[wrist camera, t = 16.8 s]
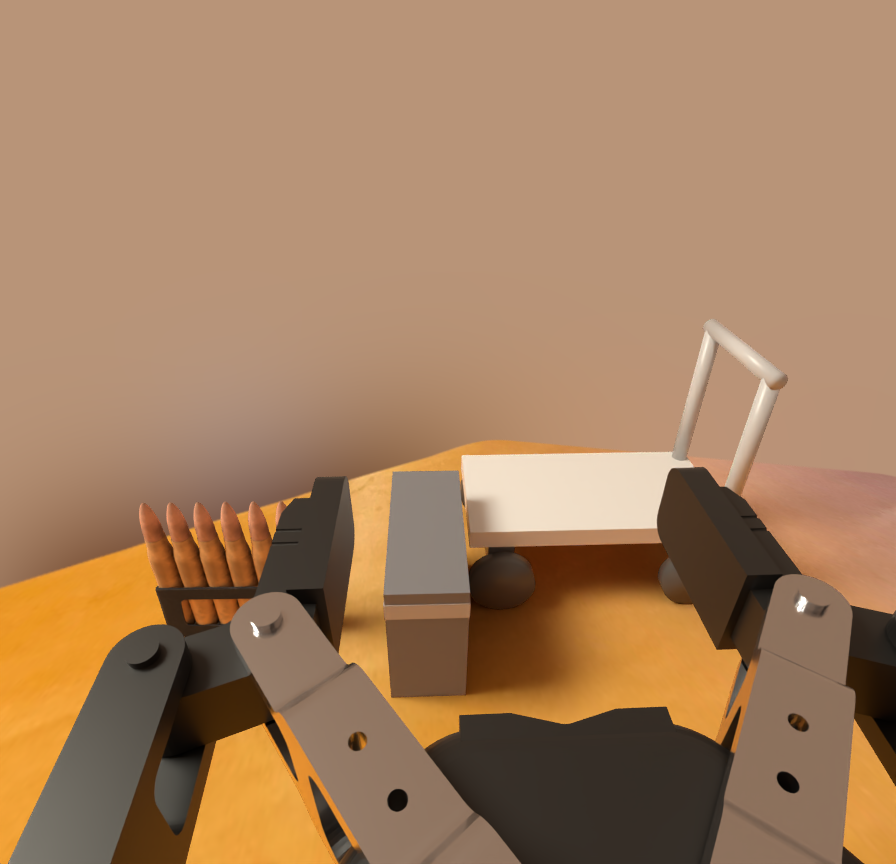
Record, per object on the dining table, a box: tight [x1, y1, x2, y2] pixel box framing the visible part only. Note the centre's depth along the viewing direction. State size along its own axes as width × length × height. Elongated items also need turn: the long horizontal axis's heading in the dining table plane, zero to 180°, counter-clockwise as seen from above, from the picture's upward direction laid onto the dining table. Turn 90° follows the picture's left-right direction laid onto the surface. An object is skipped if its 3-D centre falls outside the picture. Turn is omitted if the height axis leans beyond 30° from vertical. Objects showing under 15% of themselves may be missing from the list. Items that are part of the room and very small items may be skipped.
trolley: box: [460, 319, 788, 609], centre depth 44 cm, size 20×12×20 cm, turn 92°
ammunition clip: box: [139, 501, 287, 637], centre depth 39 cm, size 11×2×12 cm, turn 92°
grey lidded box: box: [383, 471, 471, 697], centre depth 40 cm, size 5×12×10 cm, turn 2°
